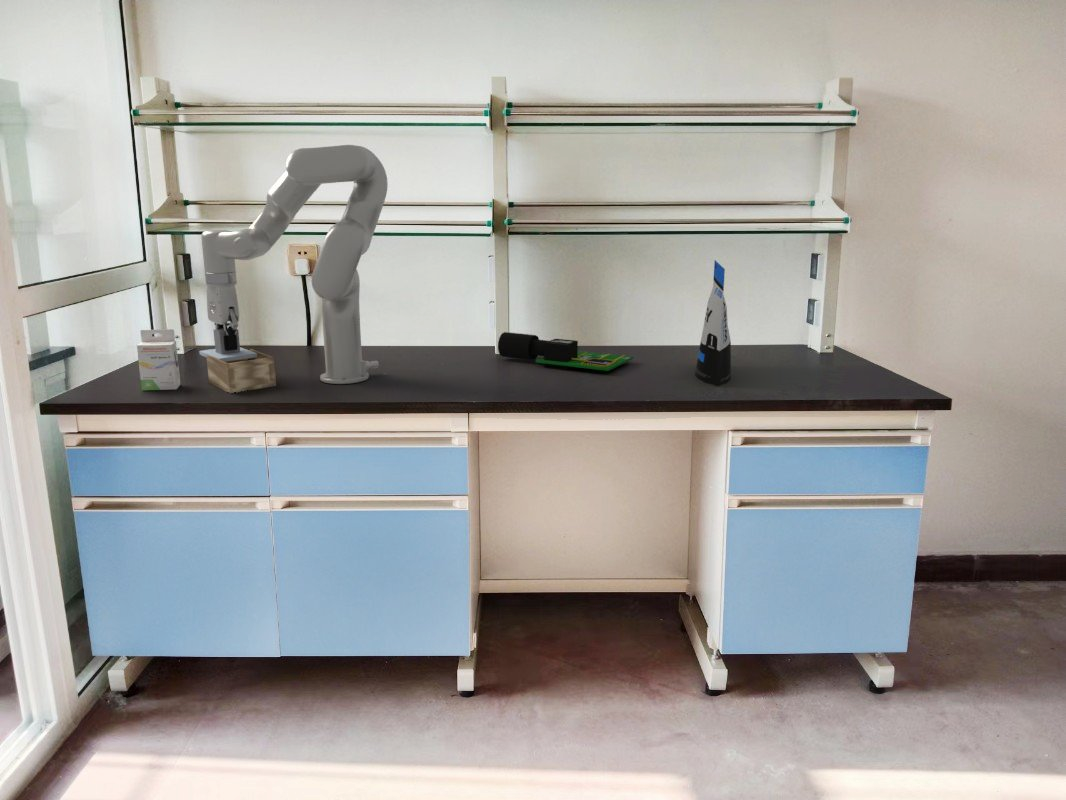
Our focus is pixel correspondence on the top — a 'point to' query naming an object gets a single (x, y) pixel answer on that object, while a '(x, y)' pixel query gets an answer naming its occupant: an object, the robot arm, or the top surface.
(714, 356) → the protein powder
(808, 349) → the top surface
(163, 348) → the ink box
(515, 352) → the electronic board model
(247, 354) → the cover plate
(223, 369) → the beech box
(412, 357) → the top surface
